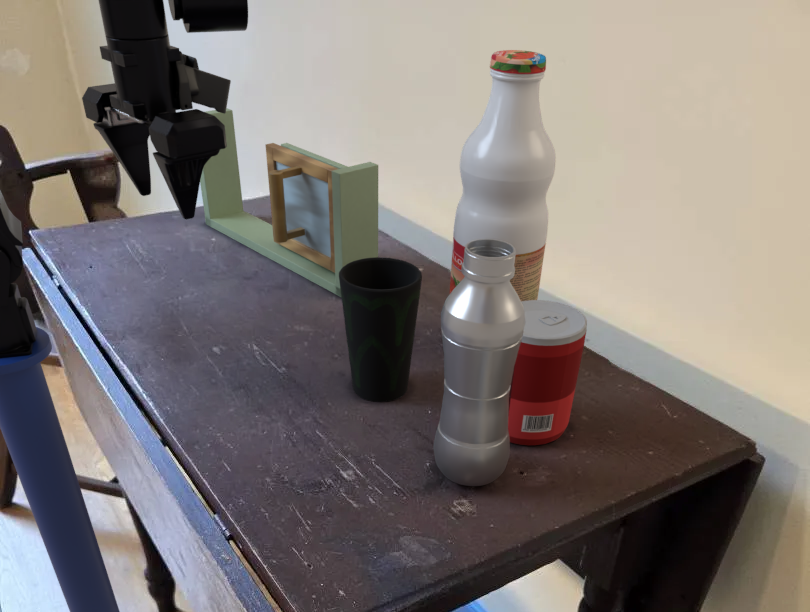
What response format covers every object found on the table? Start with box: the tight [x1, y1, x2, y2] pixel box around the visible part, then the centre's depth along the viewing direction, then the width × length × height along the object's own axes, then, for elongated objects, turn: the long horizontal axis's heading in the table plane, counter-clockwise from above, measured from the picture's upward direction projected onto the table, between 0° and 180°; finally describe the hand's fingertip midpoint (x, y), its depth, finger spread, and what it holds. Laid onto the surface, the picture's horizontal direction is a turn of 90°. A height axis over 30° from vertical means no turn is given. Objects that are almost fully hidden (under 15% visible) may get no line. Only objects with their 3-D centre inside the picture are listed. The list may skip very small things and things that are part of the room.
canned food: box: [508, 299, 588, 446], centre depth 71 cm, size 8×8×11 cm
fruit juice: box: [448, 49, 557, 301], centre depth 78 cm, size 9×9×28 cm
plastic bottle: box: [432, 239, 526, 487], centre depth 62 cm, size 6×7×20 cm
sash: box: [265, 142, 338, 273], centre depth 95 cm, size 14×5×12 cm, turn 42°
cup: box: [339, 256, 423, 403], centre depth 76 cm, size 8×8×12 cm
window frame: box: [199, 108, 379, 299], centre depth 100 cm, size 32×6×14 cm, turn 42°
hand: (166, 206), depth 83 cm, fingers open, 9 cm apart
